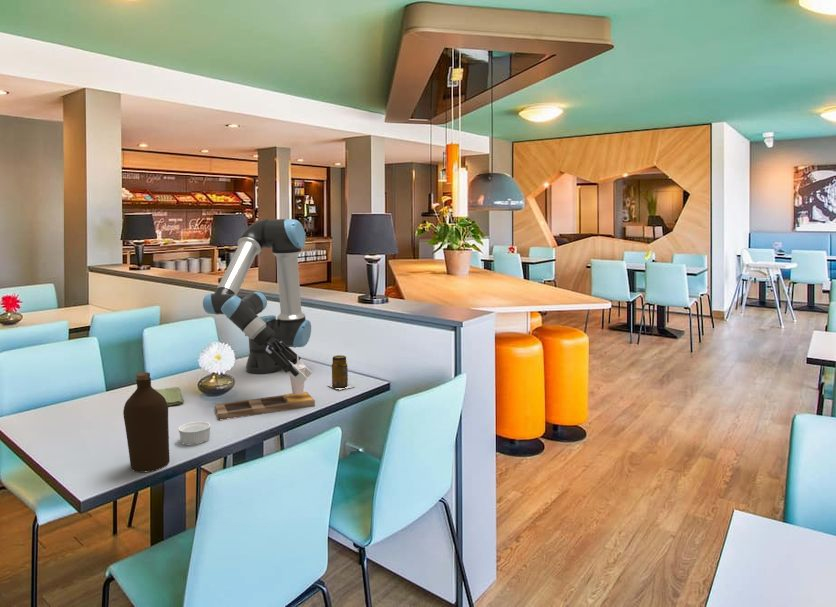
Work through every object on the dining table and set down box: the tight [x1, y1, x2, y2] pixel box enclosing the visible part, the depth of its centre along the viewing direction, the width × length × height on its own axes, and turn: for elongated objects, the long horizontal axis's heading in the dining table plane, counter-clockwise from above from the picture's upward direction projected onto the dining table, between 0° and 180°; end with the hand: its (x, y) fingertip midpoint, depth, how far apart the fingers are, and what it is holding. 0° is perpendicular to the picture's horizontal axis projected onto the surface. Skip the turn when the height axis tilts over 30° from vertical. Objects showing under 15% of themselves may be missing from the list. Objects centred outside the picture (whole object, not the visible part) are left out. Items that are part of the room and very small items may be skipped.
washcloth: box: [154, 387, 185, 407], centre depth 203 cm, size 13×18×3 cm
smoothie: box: [288, 353, 307, 395], centre depth 198 cm, size 6×6×14 cm
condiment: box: [331, 354, 349, 391], centre depth 218 cm, size 7×8×12 cm
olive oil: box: [122, 371, 170, 473], centre depth 148 cm, size 11×11×25 cm
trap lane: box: [214, 391, 316, 421], centre depth 195 cm, size 11×32×2 cm, turn 115°
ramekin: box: [177, 421, 211, 445], centre depth 167 cm, size 9×9×4 cm
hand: (307, 378), depth 198 cm, fingers closed on smoothie, 6 cm apart
